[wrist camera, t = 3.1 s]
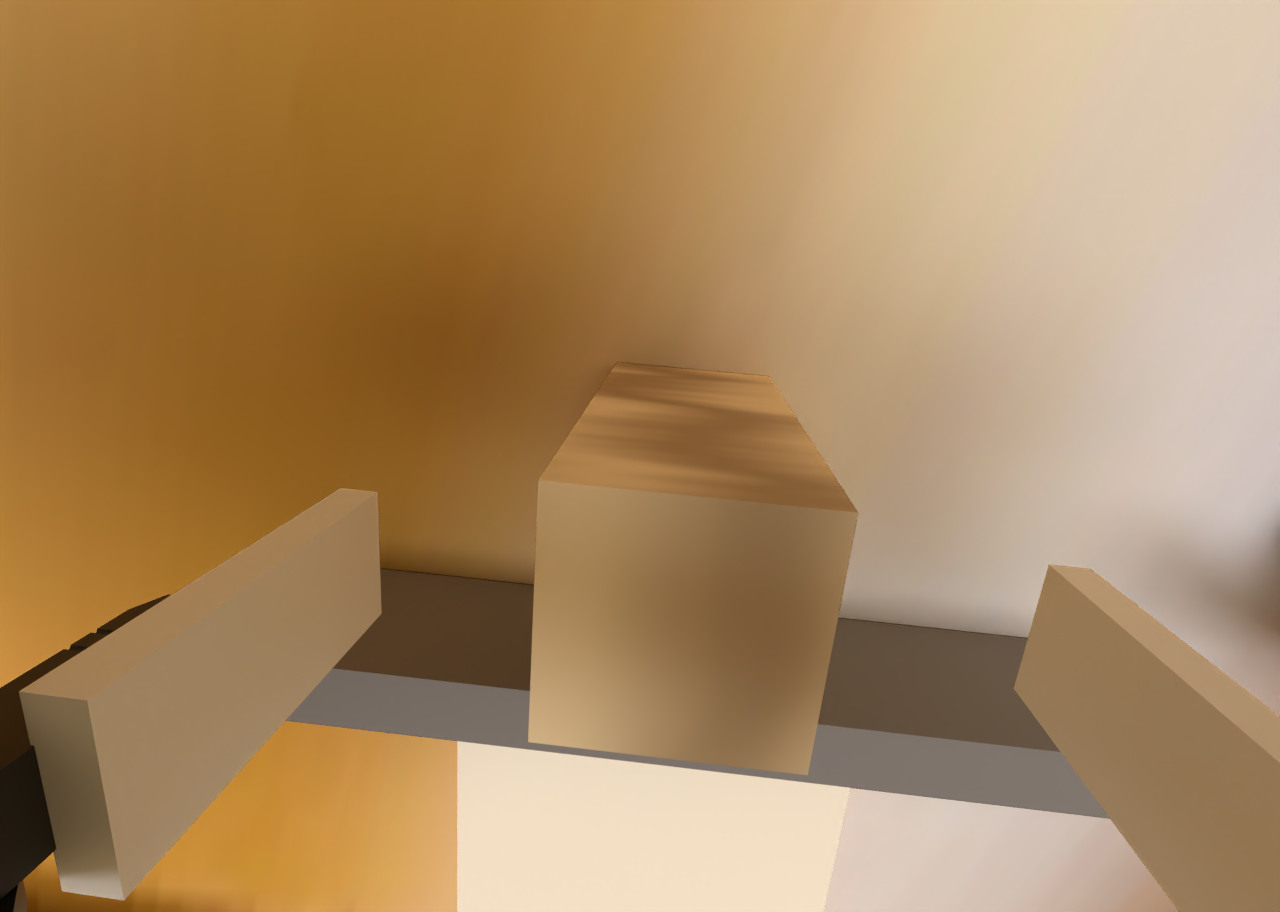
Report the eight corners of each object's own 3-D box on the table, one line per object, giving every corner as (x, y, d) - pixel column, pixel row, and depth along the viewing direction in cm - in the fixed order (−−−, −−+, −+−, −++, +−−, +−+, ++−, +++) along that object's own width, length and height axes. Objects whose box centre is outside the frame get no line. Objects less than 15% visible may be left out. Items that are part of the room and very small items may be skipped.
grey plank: (325, 609, 25) (219, 712, 20) (322, 562, 25) (212, 654, 19) (1017, 686, 24) (1118, 819, 19) (1030, 638, 24) (1139, 761, 18)
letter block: (606, 508, 23) (527, 750, 12) (616, 362, 22) (537, 480, 10) (748, 523, 23) (805, 784, 12) (768, 376, 22) (858, 512, 10)
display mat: (465, 944, 30) (457, 967, 29) (466, 659, 26) (457, 675, 25) (797, 988, 29) (801, 1013, 28) (857, 703, 25) (864, 721, 24)
